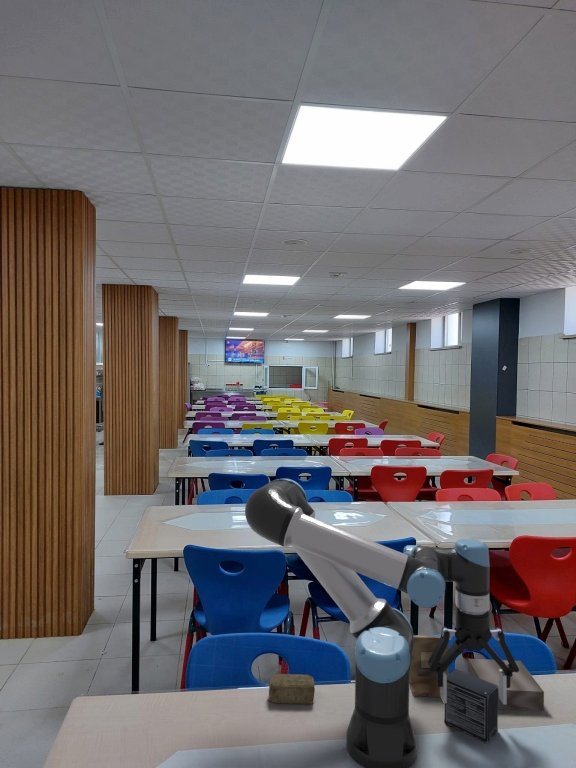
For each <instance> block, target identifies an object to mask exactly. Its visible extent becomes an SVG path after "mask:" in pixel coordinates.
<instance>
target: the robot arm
mask: <svg viewBox="0 0 576 768" xmlns="http://www.w3.org/2000/svg"><path fill="white" fill-rule="evenodd" d="M307 497H308V496H307V494H306V491H305V490H304V488H303V487H302V485H300V483H298V482H297V481H295V480H293V479H290V478H278V479H274V480H271V481H270V482H268V483H267V484H265V485H263V486H262V487H259V488H258V489H255V490H254V491H253V492H252V493H251V494H250V496H249V497H248V498H247V501H246V504H245V507H244V514H245V520H246V522H247V524H248V526H249V528H250V529H251V530H252V531H253V532H254V533H255V534H257V535H258V536H259V537H261V538H264V539H265V540H268V541H269V542H272V543H274V544H276V545H279V546H280V547H284V548H288V547H292V548H293V550H294V551H295V552H296V554H297V556H299V558H300V560H302V562H304V564H305V566H307V568H308V569H309V570H310V571H311V573H312V574H313V576H314V577H315V578H316V579H317V581H318V582H319V583H320V585H321V586H322V587H323V589H324V590H325V591H326V593H327V594H328V595H329V596H330V598H331V599H332V600H333V601H334V603H335V604H336V605H337V606H338V608H339V609H340V610H341V611H342V613H343V614H344V615H345V616H346V618H347V619H348V621H349V632H350V634H351V635H352V636H353V637H354V639H355V640H356V643H355V648H354V661H355V662H354V663H355V665H354V667H355V668H354V669H355V672H354V673H355V674H354V675H355V677H354V709H353V712H352V714H351V717H350V720H349V723H348V726H347V728H346V729H347V730H346V749H347V752H348V753H349V754H350V757H352V758H353V760H354V761H356V762H357V763H358V764H359V765H361V766H362V767H365V768H410V767H411V766H412V765H414V763H415V761H416V759H417V753H418V740H417V737H416V734H415V730H414V727H413V724H412V723H413V722H412V719H411V716H410V712H409V711H410V685H409V676H410V665H411V658H412V650H413V646H414V636H413V635H414V632H413V627H412V625H411V622H410V620H409V619H408V618H407V616H406V615H405V614H404V613H403V612H402V611H401V610H399V609H397V608H395V607H392V606H391V605H390V603H388V602H387V600H386V599H385V598H378V597H376V596H375V595H374V593H373V592H372V591H371V590H370V589H369V587H368V586H367V585H366V584H365V582H364V581H363V580H362V578H361V577H360V576H359V575H362V576H364V577H367V578H369V579H372V580H375V581H376V582H379V583H382V584H384V585H386V586H388V587H391V588H393V589H396V590H398V591H400V592H403V593H405V594H407V595H408V597H409V598H410V599H411V601H412V602H413V603H414V604H415V605H416V606H418V607H421V608H423V609H432V608H434V607H436V606H438V605H439V604H441V602H442V600H443V599H444V595H445V592H446V582H447V583H448V582H449V583H455V597H454V599H455V600H454V601H455V604H454V605H455V606H456V607H455V628H454V629H450V628H447V627H446V626H442V627H441V632H440V636H441V637H440V639H439V641H438V643H437V645H436V647H435V649H434V651H433V653H432V655H431V657H430V659H429V661H428V665H429V667H430V670H431V671H436V682H437V685H438V687H440V696H441V697H440V698H441V700H442V703H443V704H445V703H447V675H446V673H445V670H446V669H447V668H448V667H450V666H451V664H452V663H453V662H454V661H455V659H456V658H457V657H459V655H460V654H463V652H464V651H465V650H466V651H468V652H470V651H475V652H476V651H477V652H481V651H482V650H485V652H487V653H488V654H489V656H490V657H491V658H492V660H495V661H496V662H497V664H498V665H499V666H500V667H501V668H502V669H499V698H500V700H501V702H502V703H503V704H507V688H510V677H512V675H513V674H512V673H513V672H516V673H517V672H519V668H518V666H517V664H516V662H515V661H516V660H515V658H514V657H513V655H512V652H511V650H510V649H509V647H508V645H507V642H506V638H505V633H504V632H503V630H502V629H501V628H500V627H499V626H498V627H497V626H496V627H495V628H494V629H490V628H491V623H490V621H491V620H490V618H491V617H490V616H491V613H490V611H489V610H490V603H491V602H490V571H491V570H490V567H491V565H490V554H489V553H490V552H489V547H488V545H487V544H486V543H485V542H482V541H480V540H478V539H473V538H465V539H464V538H463V539H462V538H461V539H458V540H456V541H455V544H454V547H451V548H449V547H448V548H447V547H438V546H437V547H436V546H425V545H420V544H417V545H411V544H410V545H408V544H407V545H406V546H404V548H403V552H400V551H397V550H395V549H393V548H390V547H388V546H385V545H383V544H380V543H378V542H376V541H373V540H370V539H368V538H366V537H362V536H360V535H358V534H355V533H353V532H350V531H348V530H346V529H344V528H340V527H337V526H336V525H332V524H330V523H328V522H325V521H323V520H320V519H318V518H316V511H315V510H314V509H313V507H312V506H311V505H310V504H309V502H308V498H307ZM358 574H359V575H358ZM453 637H455V639H454V641H453V642H452V645H451V646H449V650H448V651H447V652H446V653H445V654H444V655H443V653H444V651H445V649H446V647H447V645H448V643H449V644H450V641H451V640H452V639H453ZM492 637H493V639H494V640H495V641H497V643H498V645H499V647H500V649H501V651H502V653H503V654H504V655H503V656H504V657H505V659H506V660H507V661H508V663H509V664H508V665H506V664H505V663H504V662H503V661H502V660H503V659H502V658H501V657H500V656H499V655H498V654H497V653H496V652H495V650H494V649H493V648H492V647H491V645H490V644H489V642H490V640H491V639H492ZM442 655H443V657H442ZM441 657H442V658H441Z"/></svg>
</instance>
